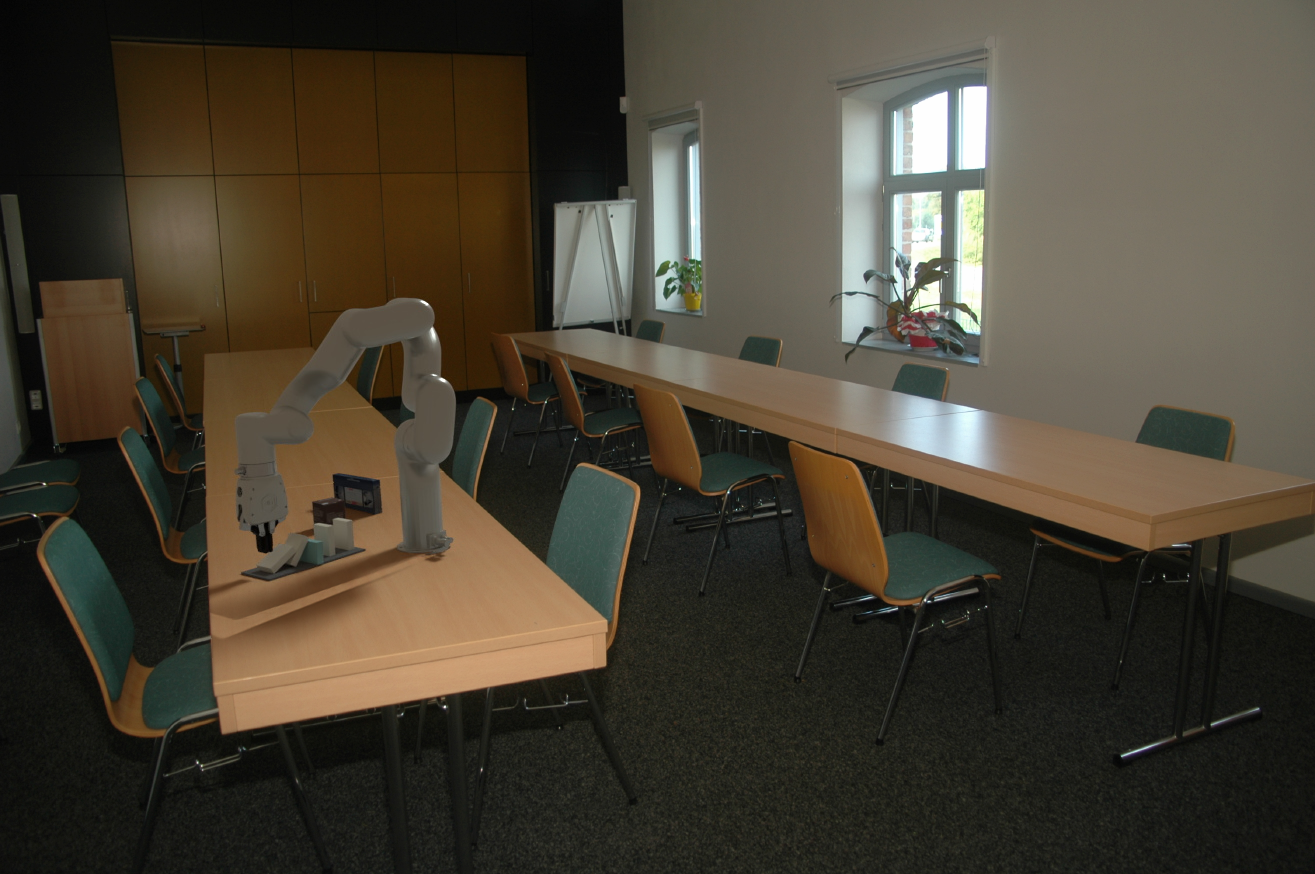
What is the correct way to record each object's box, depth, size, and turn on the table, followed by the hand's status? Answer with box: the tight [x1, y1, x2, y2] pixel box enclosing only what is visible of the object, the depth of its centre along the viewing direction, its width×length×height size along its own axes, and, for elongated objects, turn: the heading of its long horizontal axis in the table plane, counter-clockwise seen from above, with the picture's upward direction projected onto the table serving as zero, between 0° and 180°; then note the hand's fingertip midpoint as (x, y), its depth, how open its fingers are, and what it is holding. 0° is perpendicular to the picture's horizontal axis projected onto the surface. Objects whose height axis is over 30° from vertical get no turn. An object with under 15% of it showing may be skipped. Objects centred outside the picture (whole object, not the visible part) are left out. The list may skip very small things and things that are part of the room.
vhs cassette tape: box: [332, 472, 383, 516], centre depth 259 cm, size 18×3×10 cm, turn 53°
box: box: [311, 496, 347, 525], centre depth 241 cm, size 6×6×7 cm
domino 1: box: [256, 543, 297, 574], centre depth 206 cm, size 2×5×7 cm
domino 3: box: [312, 523, 335, 556], centre depth 216 cm, size 2×5×7 cm, turn 58°
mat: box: [240, 546, 366, 582], centre depth 212 cm, size 10×26×1 cm, turn 148°
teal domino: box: [299, 538, 324, 565], centre depth 211 cm, size 2×5×7 cm
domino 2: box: [284, 532, 310, 567], centre depth 209 cm, size 2×5×7 cm
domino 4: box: [333, 518, 355, 550], centre depth 221 cm, size 2×5×7 cm, turn 58°
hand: (265, 551), depth 203 cm, fingers closed
